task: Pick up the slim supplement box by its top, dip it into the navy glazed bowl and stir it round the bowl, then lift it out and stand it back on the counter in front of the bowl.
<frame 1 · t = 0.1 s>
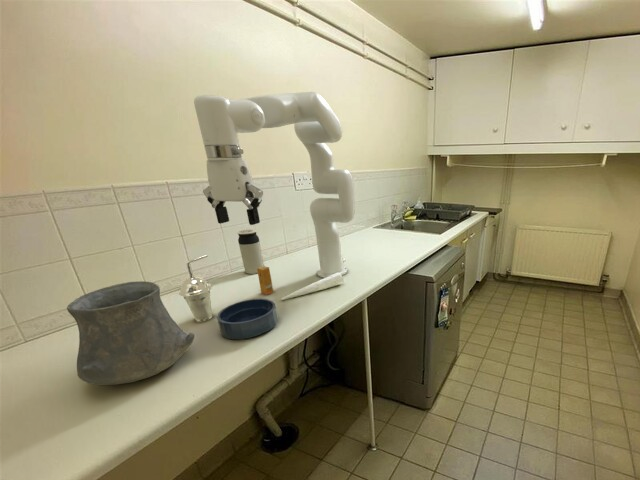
hand: (239, 223, 82), 31 cm above the counter, tool pointing down, fingers open, 9 cm apart
cup with straw: (205, 318, 98), on the counter
supplement box: (267, 293, 116), on the counter
vessel: (149, 367, 76), on the counter
bowl: (251, 326, 93), on the counter
unicorn horn: (315, 291, 116), on the counter
travel mug: (255, 271, 138), on the counter
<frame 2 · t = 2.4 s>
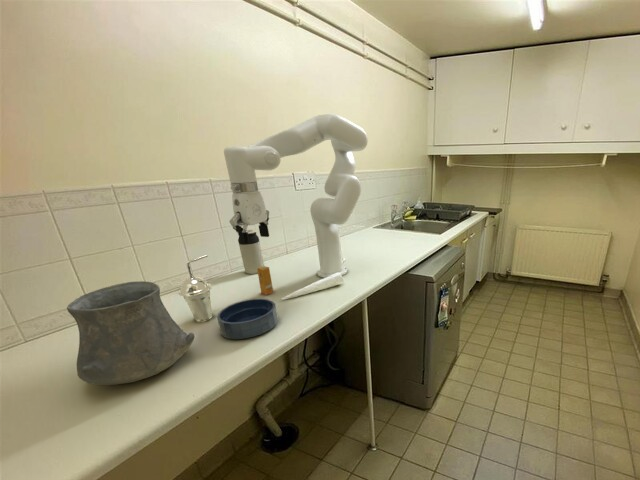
hand: (255, 240, 105), 21 cm above the counter, tool pointing down, fingers open, 9 cm apart
nothing on the counter moved.
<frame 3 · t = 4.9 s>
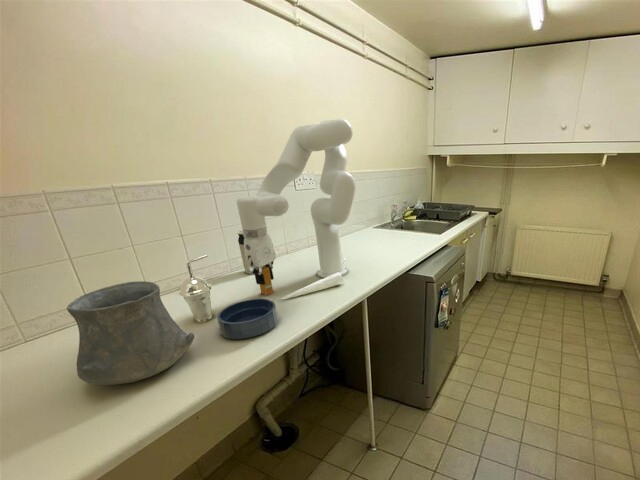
hand: (265, 281, 114), 5 cm above the counter, tool pointing down, fingers closed on supplement box, 4 cm apart
supplement box: (267, 293, 116), on the counter, touching gripper
everything else where it was.
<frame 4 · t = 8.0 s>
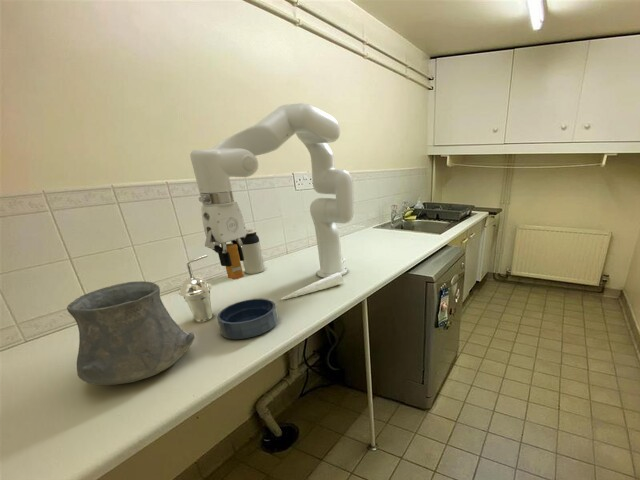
hand: (232, 262, 90), 19 cm above the counter, tool pointing down, fingers closed on supplement box, 4 cm apart
supplement box: (236, 278, 92), point 14 cm above the counter, touching gripper
everything else where it was.
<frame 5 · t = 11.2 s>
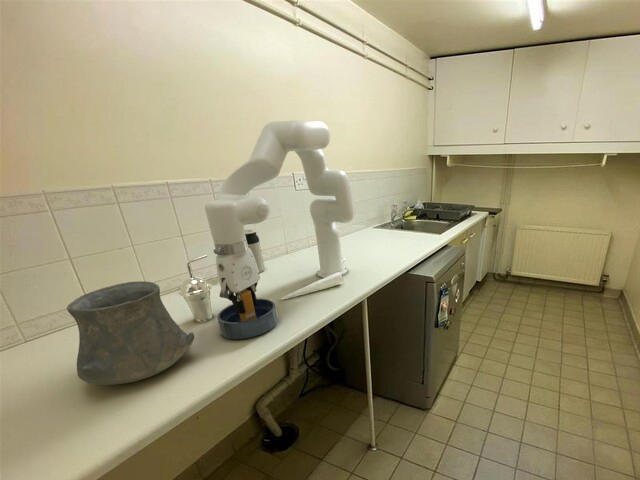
hand: (246, 308, 89), 7 cm above the counter, tool pointing down, fingers closed on supplement box, 4 cm apart
supplement box: (250, 322, 91), point 2 cm above the counter, touching gripper
everything else where it was.
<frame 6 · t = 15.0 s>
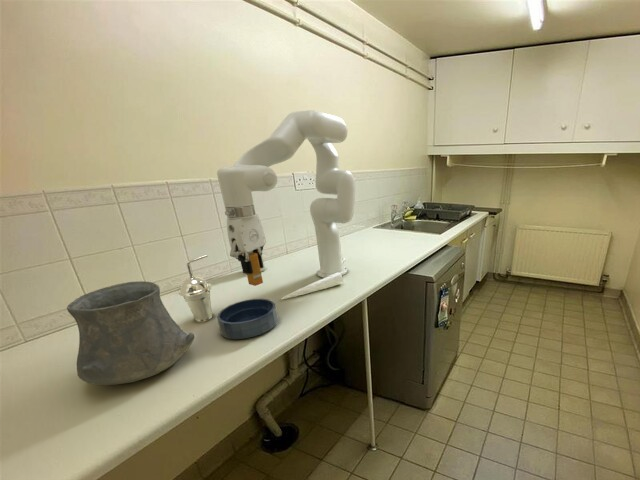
hand: (253, 269, 97), 14 cm above the counter, tool pointing down, fingers closed on supplement box, 4 cm apart
supplement box: (256, 284, 99), point 10 cm above the counter, touching gripper
everything else where it was.
when the fingers open (5 cm above the counter, at t = 17.9 s): supplement box stays where it is, on the counter.
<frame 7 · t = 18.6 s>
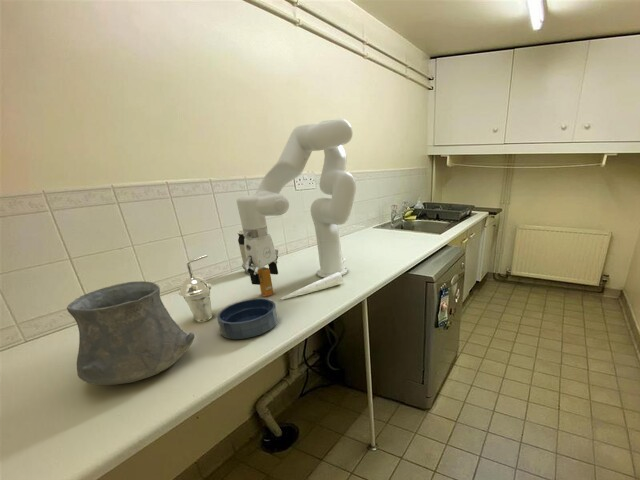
hand: (265, 278, 112), 6 cm above the counter, tool pointing down, fingers open, 9 cm apart
supplement box: (268, 294, 115), on the counter
everything else where it was.
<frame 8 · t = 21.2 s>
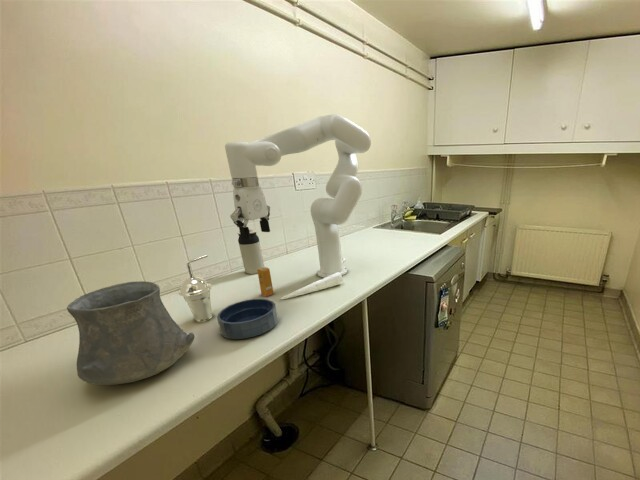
hand: (256, 235, 106), 22 cm above the counter, tool pointing down, fingers open, 9 cm apart
nothing on the counter moved.
at the end: supplement box inside the target area on the counter beside the bowl (0.1 cm from its centre), on the counter; supplement box tilted 0°; the gripper is holding nothing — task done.
